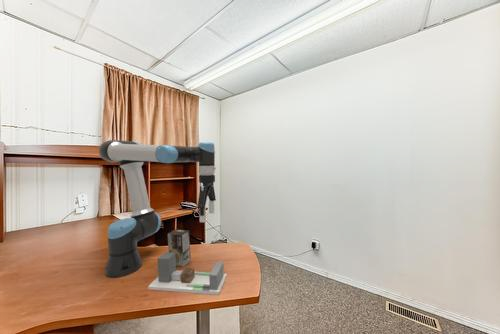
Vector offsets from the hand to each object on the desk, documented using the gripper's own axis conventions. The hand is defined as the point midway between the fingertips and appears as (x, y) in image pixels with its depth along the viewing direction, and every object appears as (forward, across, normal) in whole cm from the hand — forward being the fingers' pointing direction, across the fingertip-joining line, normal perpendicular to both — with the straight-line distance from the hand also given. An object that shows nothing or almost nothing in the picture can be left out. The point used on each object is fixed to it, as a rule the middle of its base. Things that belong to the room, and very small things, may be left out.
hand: (207, 217), depth 96 cm
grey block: (+23, -13, +12) cm, 29 cm away
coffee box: (+25, +2, +16) cm, 29 cm away
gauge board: (+24, -13, +4) cm, 28 cm away
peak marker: (+23, -13, +5) cm, 27 cm away
